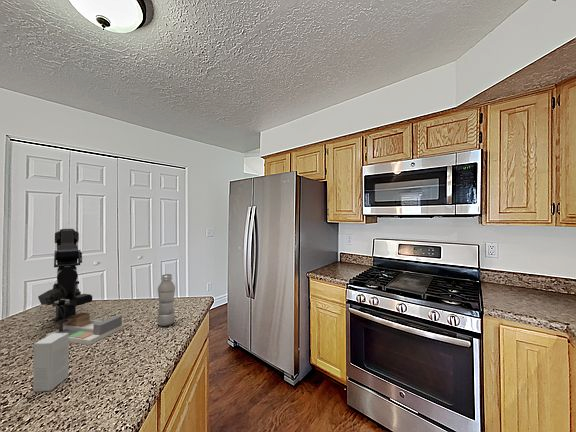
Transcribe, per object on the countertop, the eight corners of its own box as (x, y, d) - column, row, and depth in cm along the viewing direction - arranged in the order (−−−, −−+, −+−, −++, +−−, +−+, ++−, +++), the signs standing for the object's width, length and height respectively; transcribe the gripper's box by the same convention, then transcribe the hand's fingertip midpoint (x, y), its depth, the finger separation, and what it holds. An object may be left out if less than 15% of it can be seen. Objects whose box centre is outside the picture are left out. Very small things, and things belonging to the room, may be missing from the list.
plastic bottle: (168, 328, 102) (169, 277, 102) (153, 327, 103) (154, 276, 103) (178, 322, 108) (179, 273, 108) (164, 320, 110) (164, 273, 110)
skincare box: (51, 377, 70) (52, 332, 70) (68, 376, 71) (69, 332, 71) (31, 392, 64) (32, 343, 64) (50, 391, 64) (51, 342, 65)
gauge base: (45, 338, 92) (46, 324, 92) (84, 323, 106) (84, 310, 106) (89, 344, 88) (89, 330, 88) (123, 328, 102) (123, 315, 102)
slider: (53, 333, 93) (53, 320, 93) (81, 322, 103) (81, 311, 103) (62, 334, 92) (62, 321, 92) (89, 323, 102) (89, 312, 102)
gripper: (23, 283, 96) (22, 326, 95) (63, 286, 91) (62, 331, 91) (56, 276, 106) (55, 315, 106) (93, 279, 102) (93, 319, 102)
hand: (66, 320), depth 101 cm, fingers closed
